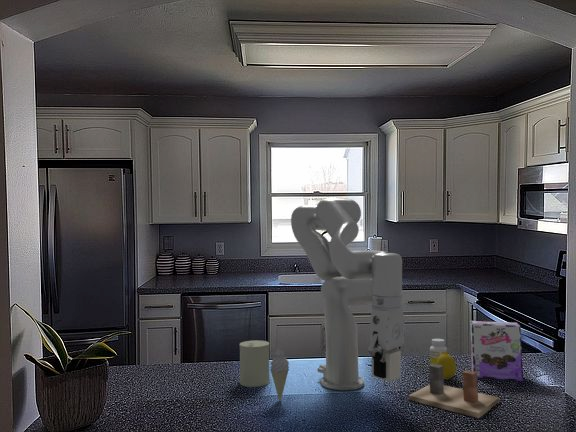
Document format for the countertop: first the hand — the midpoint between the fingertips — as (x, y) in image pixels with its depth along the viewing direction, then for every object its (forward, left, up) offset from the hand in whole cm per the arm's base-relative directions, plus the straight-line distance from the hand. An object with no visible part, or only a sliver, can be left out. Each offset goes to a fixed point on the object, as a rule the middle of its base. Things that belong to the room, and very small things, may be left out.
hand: (386, 373), depth 108 cm
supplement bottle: (-5, +39, -9) cm, 41 cm away
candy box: (+11, +44, -9) cm, 47 cm away
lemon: (+1, +31, -9) cm, 33 cm away
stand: (+10, +16, -8) cm, 20 cm away
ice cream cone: (-24, -15, -9) cm, 29 cm away
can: (-41, -8, -9) cm, 42 cm away
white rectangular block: (0, 0, -1) cm, 1 cm away
